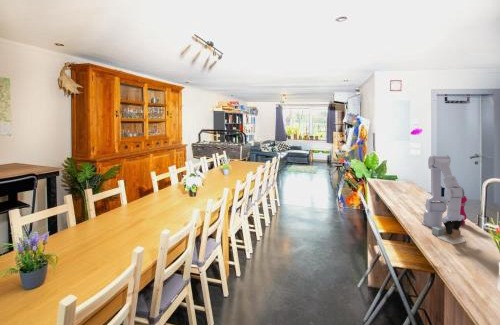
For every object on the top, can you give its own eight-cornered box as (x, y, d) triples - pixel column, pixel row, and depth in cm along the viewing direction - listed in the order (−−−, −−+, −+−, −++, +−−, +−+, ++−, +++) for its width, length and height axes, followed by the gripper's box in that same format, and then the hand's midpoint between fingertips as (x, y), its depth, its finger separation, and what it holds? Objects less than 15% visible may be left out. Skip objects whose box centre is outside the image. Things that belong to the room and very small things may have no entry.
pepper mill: (452, 220, 185) (454, 190, 182) (466, 223, 180) (468, 192, 177) (451, 223, 179) (453, 192, 176) (465, 226, 175) (468, 194, 172)
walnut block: (443, 234, 158) (444, 227, 157) (449, 233, 159) (449, 226, 158) (454, 238, 152) (455, 231, 152) (460, 237, 153) (460, 230, 153)
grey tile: (437, 238, 159) (437, 236, 159) (449, 235, 162) (449, 234, 161) (453, 244, 150) (453, 242, 150) (465, 241, 153) (465, 240, 153)
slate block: (437, 236, 161) (438, 229, 161) (431, 233, 165) (432, 227, 164) (446, 235, 163) (446, 228, 162) (439, 232, 167) (440, 226, 166)
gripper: (451, 213, 147) (449, 238, 149) (471, 209, 152) (468, 234, 154) (438, 209, 154) (436, 233, 156) (457, 206, 159) (455, 229, 161)
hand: (451, 233), depth 155 cm, fingers closed on walnut block, 4 cm apart
